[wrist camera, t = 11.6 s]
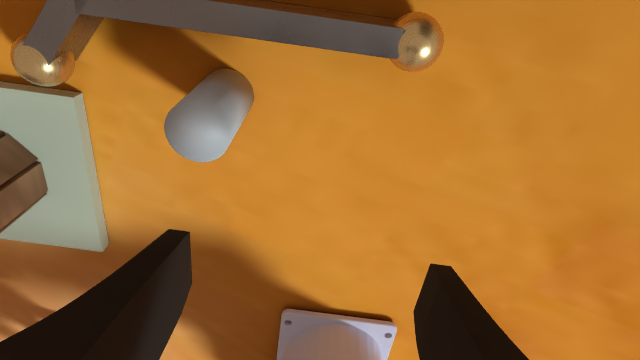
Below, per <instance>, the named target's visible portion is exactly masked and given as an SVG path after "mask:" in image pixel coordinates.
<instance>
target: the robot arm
mask: <svg viewBox="0 0 640 360" xmlns="http://www.w3.org/2000/svg"><path fill="white" fill-rule="evenodd" d="M191 284H192V271H191V249H190V232H187V231H179V230H172V229H169V230H167V231H166V232H165V233H163V234H162V235H161V236H159V237H158V238H157V239H156V240H155V241H153V242H152V243H151V244H150V245H148V246H147V247H146V248H145V249H143V250H142V251H141V252H140V253H138V254H137V255H136V256H135V257H133V258H132V259H131V260H129V261H128V262H127V263H126V264H124V265H123V266H122V267H120V268H119V269H118V270H116V271H115V272H114V273H112V274H111V275H110V276H108V277H107V278H106V279H104V280H103V281H101V282H100V283H98V284H97V285H96V286H94V287H93V288H91V289H90V290H88V291H87V292H86V293H84V294H83V295H81V296H80V297H78V298H77V299H75V300H74V301H72V302H71V303H69V304H67V305H66V306H64V307H63V308H61V309H59V310H58V311H56V312H54V313H53V314H51V315H49V316H48V317H46V318H44V319H43V320H41V321H39V322H37V323H35V324H34V325H32V326H30V327H28V328H26V329H24V330H22V331H20V332H18V333H17V334H15V335H13V336H11V337H9V338H7V339H5V340H3V341H1V342H0V360H159V359H160V357H161V355H162V353H163V351H164V349H165V347H166V345H167V343H168V340H169V338H170V336H171V334H172V332H173V330H174V328H175V326H176V324H177V322H178V320H179V318H180V316H181V313H182V310H183V308H184V305H185V302H186V299H187V296H188V293H189V290H190V287H191ZM287 320H289V321H287ZM414 323H415V334H416V343H417V348H418V353H419V358H420V360H529V359H528V358H527V357H526V356H525V355H524V354H523V353H522V352H521V351H520V349H519V348H518V347H517V346H516V345H515V344H514V343H513V342H512V341H511V340H510V339H509V337H508V336H507V335H506V334H505V333H504V332H503V331H502V329H501V328H500V327H499V326H498V325H497V324H496V322H495V321H494V320H493V319H492V318H491V316H490V315H489V314H488V313H487V312H486V310H485V309H484V308H483V307H482V305H481V304H480V303H479V302H478V300H477V299H476V298H475V297H474V295H473V294H472V293H471V291H470V290H469V289H468V288H467V286H466V285H465V284H464V282H463V281H462V280H461V279H460V277H459V276H458V275H457V273H456V272H455V271H454V270H453V269H452V267H451V266H445V265H437V264H430V266H429V269H428V272H427V275H426V278H425V281H424V283H423V286H422V289H421V292H420V295H419V297H418V300H417V303H416V306H415V309H414ZM396 332H397V327H396V324H395V323H393V322H390V321H382V320H374V319H366V318H358V317H351V316H343V315H335V314H327V313H319V312H312V311H304V310H296V309H285V310H284V311H283V312H282V316H281V325H280V333H279V342H278V351H277V359H276V360H387V359H388V356H389V353H390V350H391V347H392V344H393V341H394V338H395V335H396Z"/></svg>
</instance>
